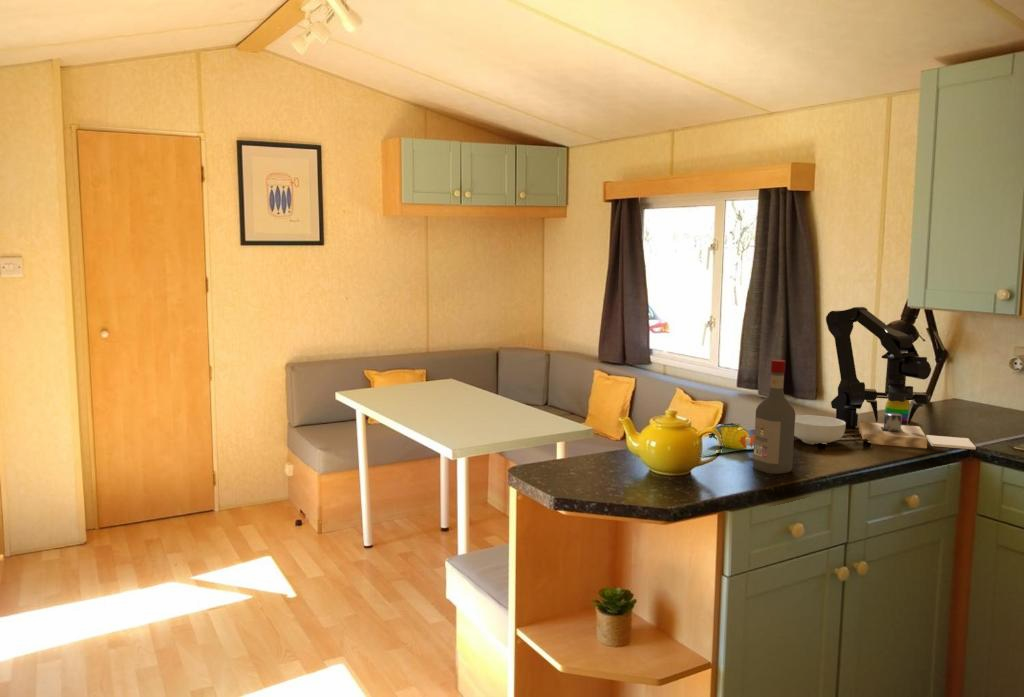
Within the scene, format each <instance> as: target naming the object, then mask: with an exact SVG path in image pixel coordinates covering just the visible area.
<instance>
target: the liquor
mask: <svg viewBox="0 0 1024 697" xmlns="http://www.w3.org/2000/svg"><path fill="white" fill-rule="evenodd" d="M770 366H771V367H770V372H771V373H770V384H769V385H770V387H769V392H768V395H767V396H766V397H764V399H763V400H762V401H761V402H760V403H759V404H758V405H757V407H756V409H755V422H754V434H755V437H754V442H753V446H754V449H753V457H752V467H753V468H754V470H757V471H760V472H763V473H766V474H771V475H772V474H773V475H778V474H779V475H781V474H785V473H790V472H792V470H793V464H794V463H793V461H794V460H793V459H794V442H795V436H794V429H795V416H796V411H795V408H794V406H793V405H792V404H791V403H790V402H789V400H788V399H787V398H786V397H785V393H784V382H785V381H784V380H785V373H786V360H784V359H771V362H770Z"/></svg>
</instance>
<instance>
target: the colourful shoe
mask: <svg viewBox="0 0 1024 697" xmlns="http://www.w3.org/2000/svg"><path fill="white" fill-rule="evenodd" d="M713 428H716V429H717V430H718V432H719V433H720V435H721V439H722V443H723V445H722V446H723V447H722V448H723V449H722V452H721V454H725V453H732V452H738V451H748V450H754V437H755V433H754V434H752V435H751V436H750V433H749V431H747V429H745V428H744V427H743V426H742V425H741V424H740V423H733V422H732V423H727V424H726V423H722V424H721V423H720V424H718V423H717V424H716V425H715V426H714V427H713ZM708 438H709V439H715V440H716V441H717V438H716V437H715V435H711V434H709V433H708ZM717 449H718V448H714V449H709V450H702V451H703V452H702V457H701V458H707V457H711V456H713V455H715V454H714V453H715V452H716V450H717Z"/></svg>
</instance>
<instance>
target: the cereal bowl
mask: <svg viewBox="0 0 1024 697" xmlns="http://www.w3.org/2000/svg"><path fill="white" fill-rule="evenodd" d="M845 427H846V423H845V422H844V421H842V420H840V419H836V418H835V417H831V416H825V415H823V416H822V415H813V414H812V415H811V414H806V415H805V414H801V415H795V429H794V438H797V439H799V440H801V441H802V442H803V443H805V444H808V445H814V444H815V443H828V442H829V443H833V442H835V441H838V440H840V439H841V438H842V437H843V436H844V434H845V432H846V428H845Z"/></svg>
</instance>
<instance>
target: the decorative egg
mask: <svg viewBox="0 0 1024 697" xmlns="http://www.w3.org/2000/svg"><path fill="white" fill-rule="evenodd" d="M910 402H911V401H910V400H905V402H900V401H889V400H888V399H887V401H886V402H885V407H884V412H885V413H896V414H901V415H902V421H901V423H904V422H906V421H907V419H908V413H909V408H910ZM885 413H884V414H885Z"/></svg>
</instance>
